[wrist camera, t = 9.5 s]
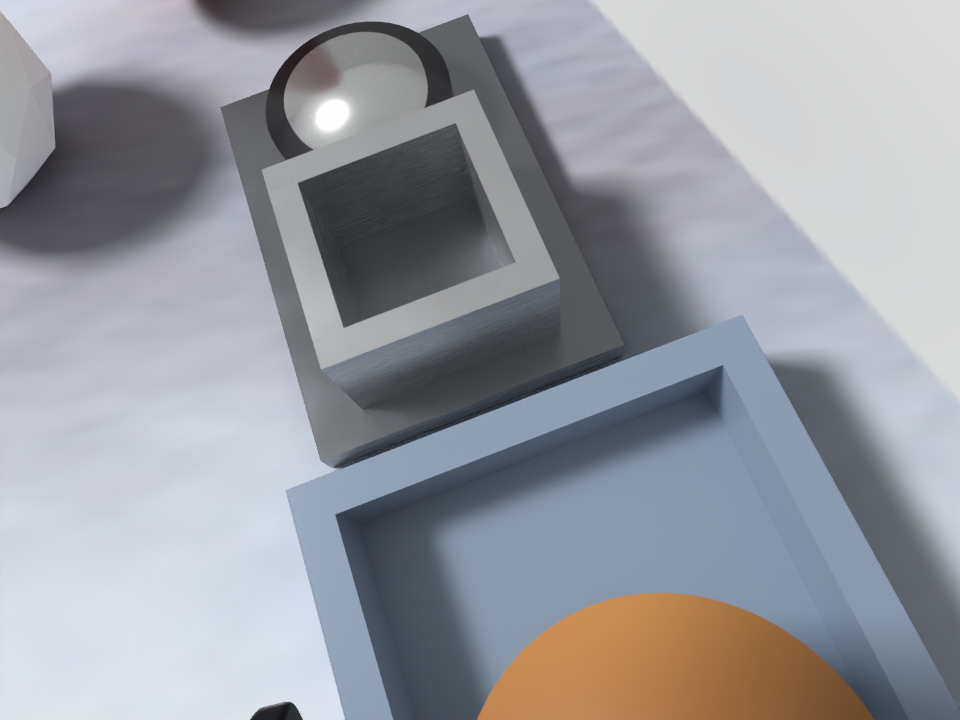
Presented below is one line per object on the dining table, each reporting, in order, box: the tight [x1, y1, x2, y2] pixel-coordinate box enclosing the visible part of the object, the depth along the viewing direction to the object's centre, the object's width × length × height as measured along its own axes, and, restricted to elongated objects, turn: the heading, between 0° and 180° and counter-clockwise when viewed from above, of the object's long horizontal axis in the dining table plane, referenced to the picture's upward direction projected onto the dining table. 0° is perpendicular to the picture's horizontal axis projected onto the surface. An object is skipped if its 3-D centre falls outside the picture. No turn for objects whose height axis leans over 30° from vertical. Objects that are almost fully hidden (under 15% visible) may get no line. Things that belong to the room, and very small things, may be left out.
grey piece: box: [221, 15, 625, 467], centre depth 21 cm, size 13×9×4 cm
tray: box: [286, 315, 960, 720], centre depth 16 cm, size 14×12×3 cm
